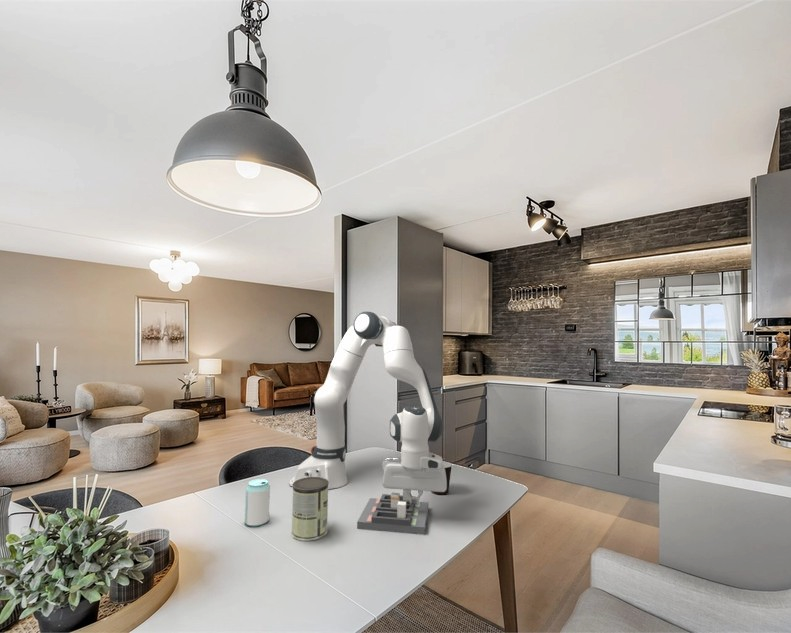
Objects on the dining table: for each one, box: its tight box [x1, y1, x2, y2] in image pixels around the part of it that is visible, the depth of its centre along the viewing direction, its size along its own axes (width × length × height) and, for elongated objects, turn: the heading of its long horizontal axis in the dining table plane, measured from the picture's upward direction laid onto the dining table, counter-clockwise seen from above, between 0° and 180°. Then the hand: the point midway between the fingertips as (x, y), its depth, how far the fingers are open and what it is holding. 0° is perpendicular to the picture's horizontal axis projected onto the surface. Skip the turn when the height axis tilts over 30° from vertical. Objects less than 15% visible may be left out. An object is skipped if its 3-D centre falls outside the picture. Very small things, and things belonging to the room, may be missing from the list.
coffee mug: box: [430, 461, 452, 496], centre depth 147 cm, size 12×9×10 cm
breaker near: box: [397, 501, 406, 519], centre depth 117 cm, size 2×2×5 cm
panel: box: [356, 493, 429, 535], centre depth 123 cm, size 20×18×4 cm
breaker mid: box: [390, 492, 400, 508], centre depth 123 cm, size 2×2×5 cm
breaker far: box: [402, 489, 410, 501], centre depth 129 cm, size 2×2×5 cm
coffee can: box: [291, 477, 329, 542], centre depth 114 cm, size 10×10×14 cm
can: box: [244, 478, 271, 527], centre depth 119 cm, size 7×7×12 cm
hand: (414, 503), depth 123 cm, fingers closed
